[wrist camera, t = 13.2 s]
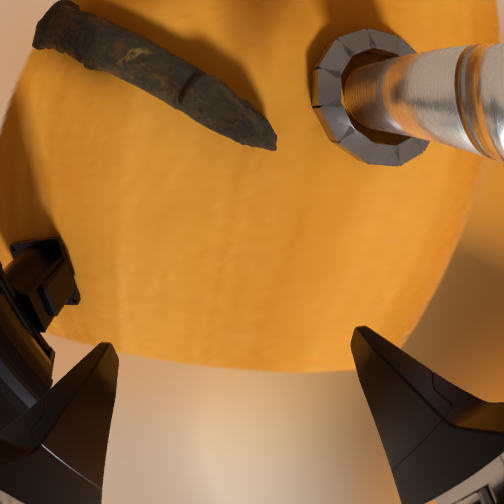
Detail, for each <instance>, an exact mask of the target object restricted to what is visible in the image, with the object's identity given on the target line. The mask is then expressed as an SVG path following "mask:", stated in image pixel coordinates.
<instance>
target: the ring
mask: <svg viewBox="0 0 504 504" xmlns="http://www.w3.org/2000/svg"><path fill="white" fill-rule="evenodd" d="M363 51H366V52H370V53H375V54H379V55H383V56H386V57H387V58H389V59H392V58H396V57H400V56H405V55H409V54H414V53H417V52H416V51H415V50H413V49H412V48H411V47H410V46H409V45H408V44H407V43H406V42H405V41H404V40H402V39H401V38H398V36H395V35H392V34H388V33H385V32H381V31H377V30H374V29H370V28H367V29H366V28H365V29H362V30H359V31H356V32H353V33H350V34H347V35H344V36H341V37H338V38H336V39H335V40H333V41H332V42H330V43H329V44H328V45H327V46H326V48H325V50H324V51H323V53H322V54H321V56H320V57H319V59H318V61H317V62H316V64H315V65H314V67H313V69H312V70H313V71H312V72H311V80H312V106H316V107H315V108H313V110H314V112H315V114H316V115H317V117H318V119H319V121H320V123H321V125H322V126H323V128H324V130H325V132H326V134H327V136H328V138H329V140H332V141H331V142H333V143H334V144H336V145H337V146H339V147H340V148H342V149H343V150H345V151H346V152H347V153H349V154H350V155H352V156H353V157H354V158H356V159H357V160H359V161H362V162H364V163H367V164H372V165H387V166H398V165H399V166H401V165H403V164H404V163H406V162H408V161H409V160H411V159H413V158H415V157H416V156H418V155H420V154H421V153H423V151H425V149H426V148H427V146H428V144H429V142H430V141H429V140H424V139H420V138H416V137H411V136H406V135H400V136H398V137H396V138H394V139H393V140H391V141H389V142H387V143H380V142H372V141H371V140H369V139H368V138H367V137H365V136H364V135H363V134H361V133H360V132H359V131H357V130H356V129H355V128H354V127H353V125H352V123H351V121H350V119H349V117H348V115H347V113H346V111H345V109H344V108H343V106H342V104H341V74H342V72H343V71H344V69H345V67H346V66H347V64H348V62H349V61H350V59H351V58H352V56H353V55H355V54H358V53H360V52H363Z"/></svg>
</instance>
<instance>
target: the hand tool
mask: <svg viewBox="0 0 504 504" xmlns="http://www.w3.org/2000/svg"><path fill="white" fill-rule="evenodd" d="M32 46H33V47H34V48H36V49H38V50H42V49H45V48H47V49H51V48H54V49H56V50H57V51H58V52H60V53H64V52H66V53H68V55H70V56H72V57H73V58H74V59H76V60H78V62H80V63H84V66H85V68H87V69H90V70H98V71H105V72H108V73H110V74H113V75H115V76H117V77H119V78H120V79H122V80H125V81H127V82H128V83H131V84H133V85H135V86H137V87H139V88H141V89H142V90H145V91H146V92H148V93H149V94H151V95H153V96H155V97H157V98H159V99H161V100H163V101H164V102H165V103H167V104H168V105H170V106H172V107H173V108H175V109H178V110H180V111H182V112H184V113H185V114H187V115H189V116H190V117H191V118H192V119H193V120H195V121H196V122H198V123H200V124H202V125H204V126H205V127H207V128H209V129H211V130H213V131H215V132H217V133H219V134H221V135H224V136H226V137H228V138H230V139H232V140H234V141H236V142H239V143H240V144H242V145H249V146H251V147H259V148H264V149H267V150H270V151H275V150H276V149H277V147H276V141H277V135H276V134H275V132H274V130H273V128H272V127H271V125H270V123H269V121H268V120H267V119H266V118H265V117H264V116H263V115H262V114H261V113H260V112H259V111H258V110H256V109H255V108H254V107H253V106H252V104H251V103H250V102H248V101H246V100H244V99H242V98H240V97H238V96H237V95H236V94H235V93H234V92H233V91H232V90H230V89H229V87H228V86H227V85H226V84H225V83H223V82H222V81H220V80H219V79H216V78H214V77H213V76H210V75H207V74H206V73H204V72H203V71H201V70H200V69H198V68H197V67H195V66H193V65H191V64H190V63H188V62H186V61H184V60H183V59H181V58H179V57H177V56H175V55H173V54H172V53H170V52H169V51H167V50H166V49H164V48H162V47H160V46H158V45H157V44H155V43H153V42H152V41H150V40H148V39H146V38H144V37H141V36H139V35H137V34H136V33H134V32H131V31H129V30H127V29H125V28H122V27H120V26H118V25H116V24H114V23H112V22H110V21H107V20H105V19H102V18H99V17H97V16H95V15H92V14H90V13H86V12H82V11H80V10H79V6H78V5H76V4H75V3H73V2H72V1H70V0H61V1H58V2H56V3H55V4H54V5H52V7H51V8H50V9H49V10H48V11H47V12H46V14H45V15H44V16H43V18H42V19H41V20H40V21H39V22H38V24H37V26H36V31H35V36H34V39H33V44H32Z"/></svg>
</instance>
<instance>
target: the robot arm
mask: <svg viewBox="0 0 504 504" xmlns="http://www.w3.org/2000/svg"><path fill="white" fill-rule="evenodd" d="M55 242H56V243H57V245H56V244H55ZM10 250H11V253H12V256H13V260H12V261H11V262H10V263H9V264H8V265H7V266H6V267H5V268H4V269H2V264H1V262H0V504H101V500H102V486H103V476H104V467H105V459H106V451H107V444H108V437H109V430H110V425H111V419H112V414H113V407H114V403H115V397H116V387H117V376H118V367H119V359H118V356H117V354H116V352H115V349H114V347H113V345H112V344H111V343H109V342H101V343H100V344H98V345H97V346H96V347H95V348H94V349H93V350H92V351H91V352H90V353H89V354H87V355H86V356H85V357H84V358H83V359H82V360H81V361H80V362H79V363H78V364H76V366H74V367H73V368H72V369H71V370H70V371H69V372H68V373H67V374H66V375H65V376H64V377H63V378H61V379H60V380H59V381H58V382H57V383H56V384H55V385H54V386H53V387H52V388H51V386H52V383H53V380H52V371H53V364H54V358H55V352H54V350H53V349H52V348H51V347H50V346H49V345H48V344H47V342H46V341H45V339H44V338H43V336H42V335H41V334H40V332H45V331H46V330H47V328H48V326H49V325H50V323H51V322H52V320H53V318H54V317H55V316H58V314H59V313H60V311H61V309H62V308H63V306H64V305H78V304H79V302H80V300H81V299H80V296H79V293H78V290H77V288H76V284H75V281H74V279H73V276H72V273H71V270H70V267H69V264H68V261H67V258H66V255H65V252H64V248H63V245H62V241H61V239H60V238H58V237H50V238H42V239H34V240H26V241H19V242H13V243H12V244H11V245H10ZM74 298H75V299H76V300H75V299H74ZM351 351H352V354H353V358H354V362H355V365H356V369H357V373H358V377H359V381H360V383H361V386H362V389H363V391H364V394H365V397H366V399H367V402H368V405H369V407H370V410H371V413H372V415H373V418H374V421H375V424H376V426H377V429H378V432H379V435H380V438H381V441H382V444H383V447H384V449H385V452H386V455H387V458H388V461H389V464H390V467H391V470H392V474H393V477H394V480H395V484H396V487H397V490H398V493H399V496H400V500H401V503H402V504H425V503H427V502H429V501H431V500H433V499H435V500H436V503H437V504H504V402H499V403H491V402H486V401H483V400H481V399H479V398H477V397H475V396H473V395H472V394H470V393H468V392H466V391H464V390H462V389H461V388H459V387H457V386H455V385H454V384H452V383H450V382H449V381H447V380H445V379H444V378H442V377H441V376H439V375H438V374H436V373H435V372H432V370H430V369H429V368H427V367H426V366H424V365H423V364H422V363H420V362H418V361H417V360H416V359H414V358H412V357H411V356H410V355H408V354H407V353H405V352H404V351H402V350H401V349H400V348H398V347H397V346H395V345H394V344H392V343H391V342H389V341H388V340H386V339H385V338H383V337H382V336H380V335H379V334H377V333H376V332H374V331H373V330H372V329H370V328H369V327H367V326H359V327H356V328H355V329H354V332H353V336H352V340H351Z"/></svg>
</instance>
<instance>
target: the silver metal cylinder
mask: <svg viewBox="0 0 504 504" xmlns="http://www.w3.org/2000/svg"><path fill="white" fill-rule="evenodd" d="M344 100H345V103H346V106H347V109H348V111H349V112H350V114H351V115H352V117H353V118H354V119H355V120H356V121H357V122H358V123H359V124H361V125H362V126H364V127H366V128H369V129H373V130H379V131H385V132H391V133H396V134H401V135H406V136H411V137H416V138H420V139H424V140H429V141H433V142H437V143H441V144H445V145H448V146H452V147H456V148H459V149H463V150H466V151H469V152H472V153H476V154H479V155H482V156H485V157H488V158H491V159H494V160H496V161H499V162H502V163H504V43H496V44H479V45H468V46H458V47H450V48H443V49H437V50H431V51H425V52H420V53H414V54H409V55H405V56H400V57H396V58H392V59H387V60H383V61H379V62H376V63H372V64H368V65H365V66H361V67H358V68H356V69H355V70H353V71H352V72H351V73H350V75H349V76H348V78H347V79H346V82H345V86H344Z"/></svg>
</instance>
